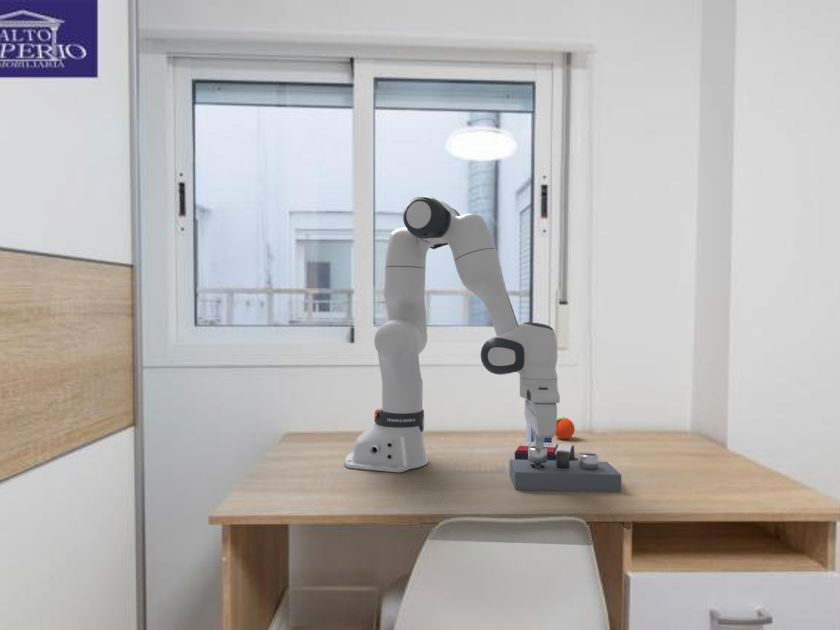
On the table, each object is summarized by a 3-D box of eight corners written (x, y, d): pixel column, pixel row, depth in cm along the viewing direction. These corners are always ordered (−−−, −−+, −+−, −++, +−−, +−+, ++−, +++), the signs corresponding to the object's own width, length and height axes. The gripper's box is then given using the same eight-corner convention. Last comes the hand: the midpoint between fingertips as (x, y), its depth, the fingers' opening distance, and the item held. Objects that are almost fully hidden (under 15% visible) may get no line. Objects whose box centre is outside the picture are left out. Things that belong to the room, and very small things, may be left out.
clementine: (559, 442, 154) (559, 420, 154) (545, 437, 160) (545, 416, 160) (579, 440, 157) (579, 418, 157) (564, 435, 163) (564, 414, 163)
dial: (557, 468, 115) (557, 453, 115) (555, 464, 118) (555, 449, 118) (570, 468, 114) (570, 453, 115) (567, 464, 118) (567, 449, 118)
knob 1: (529, 479, 114) (529, 449, 114) (526, 473, 119) (526, 444, 119) (548, 480, 114) (548, 450, 114) (544, 474, 118) (545, 445, 118)
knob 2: (581, 486, 114) (581, 456, 114) (576, 480, 118) (576, 451, 118) (600, 487, 113) (600, 457, 113) (594, 480, 118) (594, 451, 118)
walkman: (551, 451, 143) (552, 411, 144) (545, 452, 142) (545, 412, 142) (532, 445, 150) (533, 406, 150) (526, 446, 149) (526, 407, 149)
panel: (515, 489, 112) (515, 472, 112) (509, 475, 122) (509, 459, 122) (621, 492, 110) (621, 474, 110) (606, 477, 120) (606, 461, 120)
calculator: (520, 440, 144) (573, 442, 138) (521, 454, 143) (574, 457, 138) (514, 449, 133) (570, 452, 128) (514, 465, 133) (571, 469, 128)
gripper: (518, 383, 127) (518, 436, 127) (532, 396, 107) (532, 459, 106) (543, 383, 127) (543, 436, 127) (561, 396, 106) (561, 459, 106)
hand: (538, 447), depth 116 cm, fingers closed, pressing on knob 1
